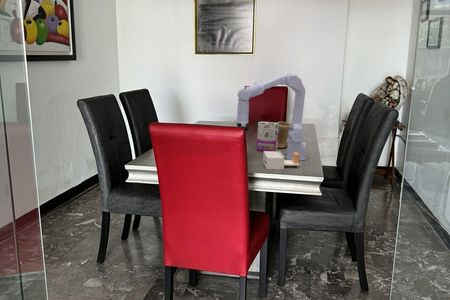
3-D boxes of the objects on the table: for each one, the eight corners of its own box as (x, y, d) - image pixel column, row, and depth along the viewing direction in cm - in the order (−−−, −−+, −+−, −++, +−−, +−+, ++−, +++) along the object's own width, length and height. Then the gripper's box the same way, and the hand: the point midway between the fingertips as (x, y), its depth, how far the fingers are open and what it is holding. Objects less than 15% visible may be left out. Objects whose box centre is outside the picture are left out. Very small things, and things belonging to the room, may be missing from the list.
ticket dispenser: (279, 162, 203) (279, 150, 201) (284, 169, 189) (284, 157, 188) (262, 161, 202) (263, 150, 201) (266, 169, 189) (267, 156, 187)
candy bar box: (277, 151, 227) (279, 122, 224) (275, 153, 223) (277, 123, 219) (258, 149, 231) (260, 121, 227) (256, 150, 226) (257, 122, 223)
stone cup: (288, 150, 231) (290, 124, 228) (268, 148, 235) (269, 122, 231) (291, 145, 245) (293, 121, 242) (272, 143, 249) (274, 119, 245)
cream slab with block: (295, 161, 200) (296, 151, 199) (299, 165, 192) (300, 155, 191) (267, 160, 199) (268, 150, 198) (270, 165, 191) (270, 154, 190)
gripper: (234, 110, 212) (233, 135, 215) (236, 113, 198) (235, 140, 201) (247, 110, 212) (246, 135, 215) (250, 114, 198) (248, 141, 201)
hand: (241, 138), depth 208 cm, fingers open, 7 cm apart
